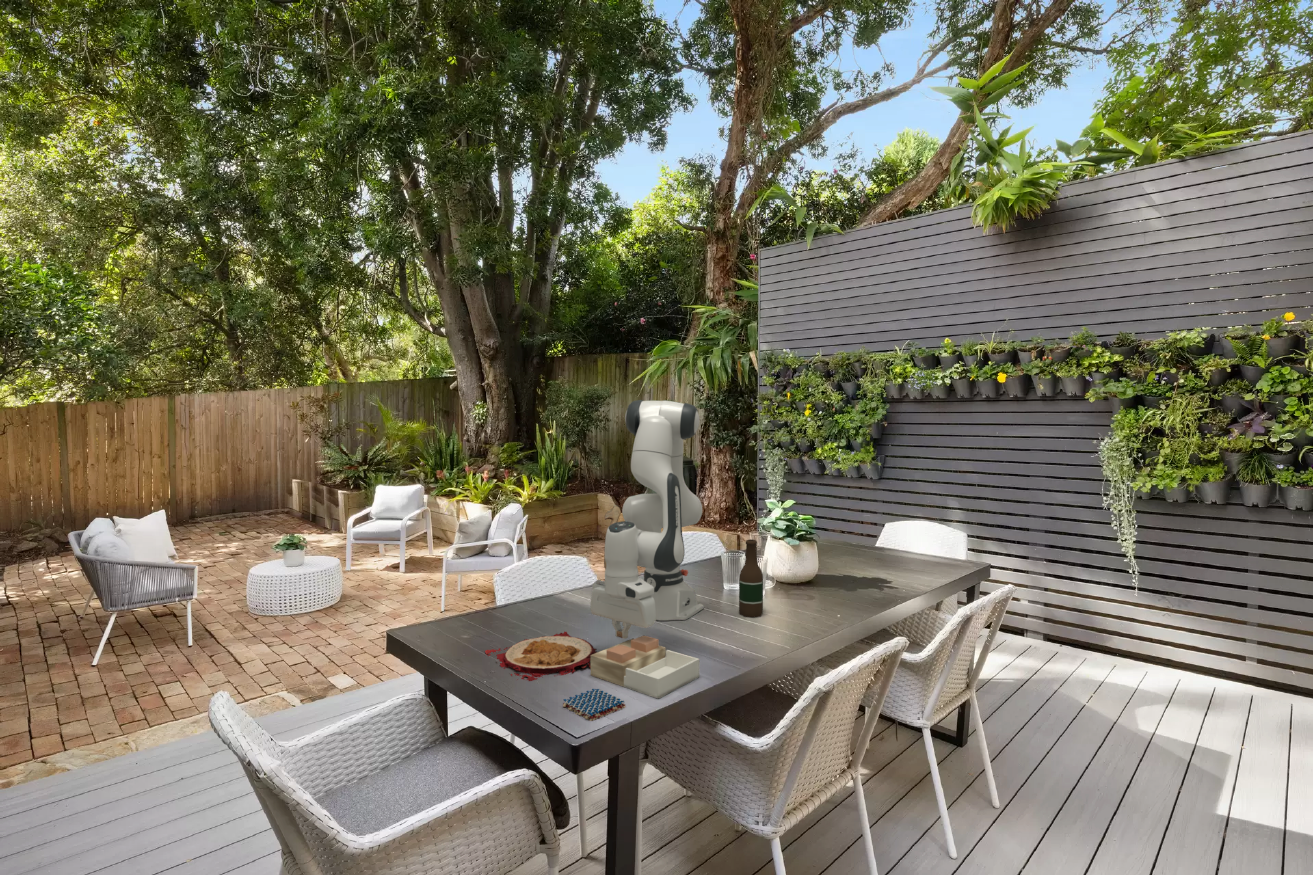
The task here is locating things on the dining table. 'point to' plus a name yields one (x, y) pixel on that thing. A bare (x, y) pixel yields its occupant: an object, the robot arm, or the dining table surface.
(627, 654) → the terracotta tile
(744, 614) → the beer bottle
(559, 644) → the plate with food
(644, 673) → the box
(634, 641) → the terracotta tile
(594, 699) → the woven mat
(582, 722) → the dining table surface
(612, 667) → the wooden box sleeve
